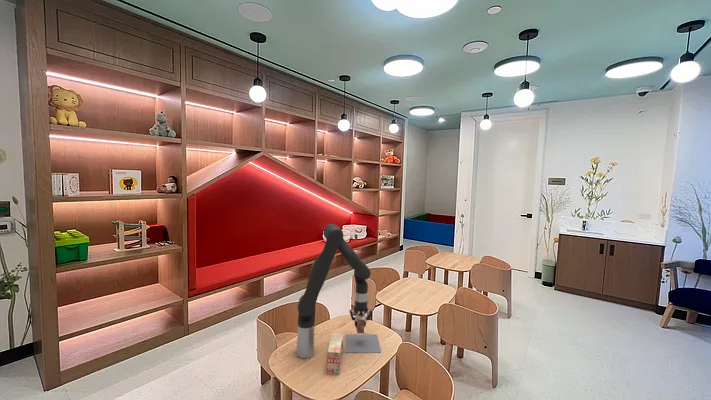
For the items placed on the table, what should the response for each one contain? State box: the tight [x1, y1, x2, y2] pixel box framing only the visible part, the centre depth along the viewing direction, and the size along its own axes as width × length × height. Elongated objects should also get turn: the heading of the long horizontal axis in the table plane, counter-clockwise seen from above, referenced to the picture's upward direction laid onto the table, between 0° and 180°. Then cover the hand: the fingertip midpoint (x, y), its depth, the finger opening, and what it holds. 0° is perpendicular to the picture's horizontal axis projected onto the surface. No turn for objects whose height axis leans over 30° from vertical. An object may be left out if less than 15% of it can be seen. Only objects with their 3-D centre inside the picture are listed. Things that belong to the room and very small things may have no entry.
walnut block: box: [355, 315, 366, 334], centre depth 172 cm, size 4×7×10 cm, turn 4°
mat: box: [344, 333, 382, 354], centre depth 173 cm, size 20×18×1 cm
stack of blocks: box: [326, 332, 344, 375], centre depth 156 cm, size 21×6×12 cm, turn 177°
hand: (360, 326), depth 172 cm, fingers closed on walnut block, 4 cm apart
